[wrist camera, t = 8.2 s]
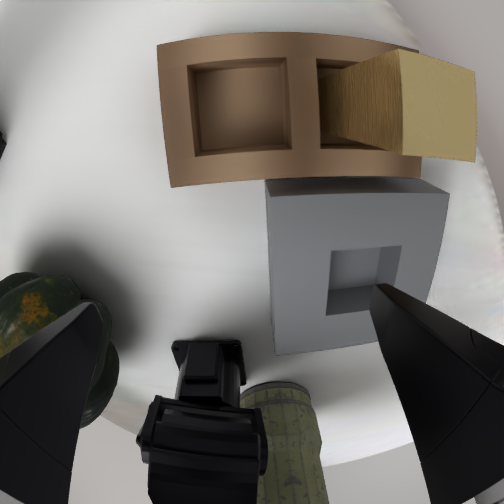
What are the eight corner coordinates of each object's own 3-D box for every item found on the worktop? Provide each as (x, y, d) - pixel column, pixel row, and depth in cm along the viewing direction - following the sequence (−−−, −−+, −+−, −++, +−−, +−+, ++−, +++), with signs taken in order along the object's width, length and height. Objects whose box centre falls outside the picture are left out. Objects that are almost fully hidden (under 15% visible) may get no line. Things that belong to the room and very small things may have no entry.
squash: (175, 385, 20) (-6, 441, 7) (106, 423, 25) (-4, 454, 12) (109, 244, 25) (-40, 228, 11) (62, 318, 30) (-41, 323, 16)
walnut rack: (388, 58, 15) (418, 50, 11) (390, 164, 18) (420, 177, 15) (173, 58, 15) (156, 45, 11) (184, 173, 18) (170, 187, 15)
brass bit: (369, 133, 16) (475, 162, 7) (319, 132, 16) (402, 154, 7) (367, 83, 15) (474, 71, 6) (317, 80, 15) (398, 48, 6)
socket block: (397, 306, 24) (415, 333, 20) (271, 321, 24) (275, 355, 21) (419, 178, 19) (449, 193, 15) (264, 180, 19) (270, 197, 15)
